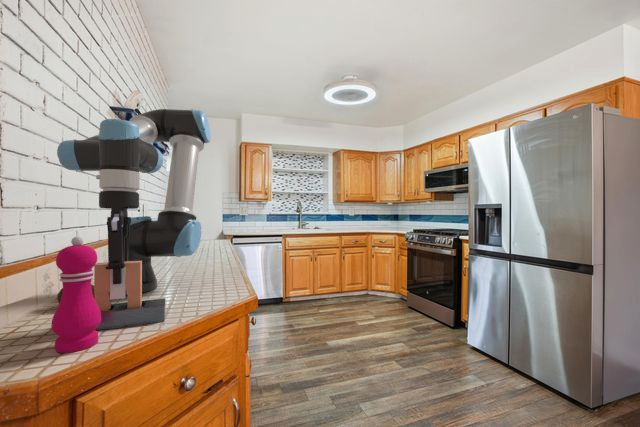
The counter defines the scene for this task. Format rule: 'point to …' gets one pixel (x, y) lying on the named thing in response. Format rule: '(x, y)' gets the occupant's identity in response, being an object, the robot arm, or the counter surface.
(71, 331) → the pepper mill
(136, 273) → the peach wedge-cut bar
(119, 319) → the rail
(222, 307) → the counter surface
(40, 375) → the counter surface
